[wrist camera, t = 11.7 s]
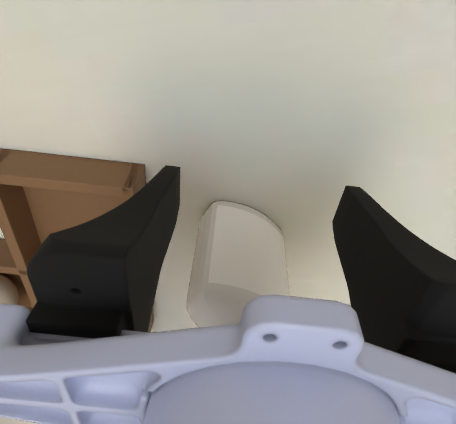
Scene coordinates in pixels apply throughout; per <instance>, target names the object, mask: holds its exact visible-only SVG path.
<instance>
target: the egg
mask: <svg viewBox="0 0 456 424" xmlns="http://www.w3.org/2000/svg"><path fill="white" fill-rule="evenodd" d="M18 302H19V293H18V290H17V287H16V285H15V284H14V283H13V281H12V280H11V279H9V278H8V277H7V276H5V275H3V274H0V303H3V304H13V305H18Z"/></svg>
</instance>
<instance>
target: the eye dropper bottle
mask: <svg viewBox="0 0 456 424" xmlns="http://www.w3.org/2000/svg"><path fill="white" fill-rule="evenodd" d="M274 294H275V295H284V296H290V292H289V282H288V273H287V263H286V254H285V245H284V238H283V234H282V232H281V230H280V229H279V228H278V227H277V226H276V224H275V223H273V222H272V221H271V220H270V219H269V218H268V217H266V216H265V215H263V214H262V213H260V212H258V211H256V210H254V209H252V208H250V207H247V206H244V205H241V204H237V203H233V202H227V201H217V202H214V203H213V204H211V205H210V207H209V208H208V209H207V211H206V212H205V214H204V215H203V217H202V218H201V220H200V225H199V230H198V236H197V242H196V248H195V253H194V259H193V265H192V271H191V277H190V283H189V290H188V297H187V311H188V313H189V315H190V317H191V318H192V320H193V321H194V322H195V323H196V324H197V325H198V326H199V327H210V326H219V325H229V324H238V323H239V322H240V320H241V318H242V313H243V309H244V308H245V306H246V305H247V303H248V302H249V301H250V300H252V299H254V298H257V297H259V296H261V295H274Z"/></svg>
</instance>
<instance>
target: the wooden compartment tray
mask: <svg viewBox="0 0 456 424" xmlns="http://www.w3.org/2000/svg"><path fill="white" fill-rule="evenodd" d="M145 185H146V182H145V165H143V164H134V163H126V162H117V161H108V160H99V159H90V158H81V157H72V156H63V155H54V154H45V153H37V152H28V151H19V150H9V149H0V227H1V230H2V232H3V235H4V237H5V239H0V274H3V275H5V276H7V277H8V278H9V279H11V280H12V281H13V283H14V284H15V285H16V287H17V290H18V293H19V302H18V305H21V306H25V307H27V308H29V309H30V310H31V311H32V309H33V308H34V306H35V304H36V302H37V300H36V297H35V295H34V292H33V289H32V287H31V284H30V282H29V279H28V275H27V267H28V264H29V262H30V261H31V259H32V258H33V256H34V255H35V253H36V252H37V250H38V249H39V247H40V246H41V244H42V243H43V242H44V240H45V239H46V238H47V237H48V236H49V234H51V233H55V232H58V231H61V230H65V229H68V228H71V227H74V226H77V225H80V224H82V223H85V222H88V221H90V220H92V219H95V218H97V217H99V216H101V215H103V214H105V213H107V212H108V211H110V210H112V209H114V208H116V207H117V206H119V205H121V204H122V203H124V202H125V201H127V200H128V199H129V198H131V197H132V196H133V195H134V194H136V193H137V192H138V191H139V190H141V189H142V188H143V187H144V186H145ZM152 323H153V309H152V313H151V318H150V323H149V329H148V333H150V331H151V327H152Z"/></svg>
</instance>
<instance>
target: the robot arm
mask: <svg viewBox="0 0 456 424" xmlns="http://www.w3.org/2000/svg"><path fill="white" fill-rule="evenodd" d="M179 205H180V167H176V166H167V165H166V166H165V167H163V168H162V169H161V171H160V172H159V173H158V174H157V175H156V176H155V177H154V178H153V179H152V180H151V181H149V182H148V183H147V184H146V185H145V186H144V187H143V188H142V189H141V190H139V191H138V192H137V193H136V194H134V195H133V196H132V197H131V198H129V199H128V200H127V201H125V202H124V203H122V204H121V205H119V206H117V207H116V208H114V209H112V210H110V211H108V212H107V213H105V214H103V215H101V216H99V217H97V218H95V219H92V220H90V221H88V222H85V223H82V224H80V225H77V226H74V227H71V228H68V229H65V230H61V231H58V232H55V233H51V234H49V236H48V237H47V238H46V239H45V240H44V242H43V243H42V244H41V246H40V247H39V249H38V250H37V252H36V253H35V255H34V256H33V258H32V259H31V261H30V262H29V264H28V267H27V275H28V279H29V282H30V284H31V287H32V289H33V292H34V295H35V297H36V300H37V302H36V304H35V306H34V308H33V309H32V311H31V310H30V309H29V308H27V307H25V306H21V305H13V304H3V303H0V417H4V418H10V419H16V420H22V421H29V422H33V423H39V424H456V260H454V259H452V258H450V257H449V256H447V255H445V254H443V253H442V252H440V251H438V250H437V249H435V248H433V247H432V246H430V245H429V244H427V243H426V242H424V241H423V240H421V239H420V238H418V237H417V236H416V235H414V234H413V233H412V232H410V231H409V230H408V229H406V228H405V227H404V226H403V225H401V224H400V223H399V222H398V221H397V220H395V219H394V218H393V217H392V216H391V215H390V214H389V213H388V212H387V211H385V210H384V209H383V208H382V207H381V206H380V205H379V204H378V203H377V202H376V201H375V200H374V199H373V198H372V197H371V196H369V195H368V194H367V193H366V192H365V191H364V190H363V189H361V188H360V187H354V186H346V187H345V189H344V192H343V195H342V197H341V200H340V203H339V205H338V208H337V211H336V213H335V216H334V219H333V221H332V223H333V232H334V239H335V244H336V247H337V251H338V255H339V258H340V261H341V265H342V268H343V272H344V275H345V279H346V282H347V286H348V290H349V296H350V302H351V306H350V305H348V304H344V303H341V302H338V301H332V300H323V299H313V298H303V297H294V296H284V295H275V294H274V295H261V296H259V297H257V298H254V299H252V300H250V301H249V302H248V303H247V305H246V306H245V308H244V309H243V313H242V318H241V320H240V322H239V323H238V324H229V325H219V326H210V327H200V328H191V329H181V330H172V331H162V332H153V333H148V329H149V323H150V318H151V313H152V308H153V303H154V298H155V293H156V289H157V284H158V279H159V275H160V270H161V267H162V263H163V260H164V257H165V254H166V252H167V249H168V246H169V243H170V240H171V237H172V234H173V231H174V228H175V225H176V221H177V216H178V210H179Z"/></svg>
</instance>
